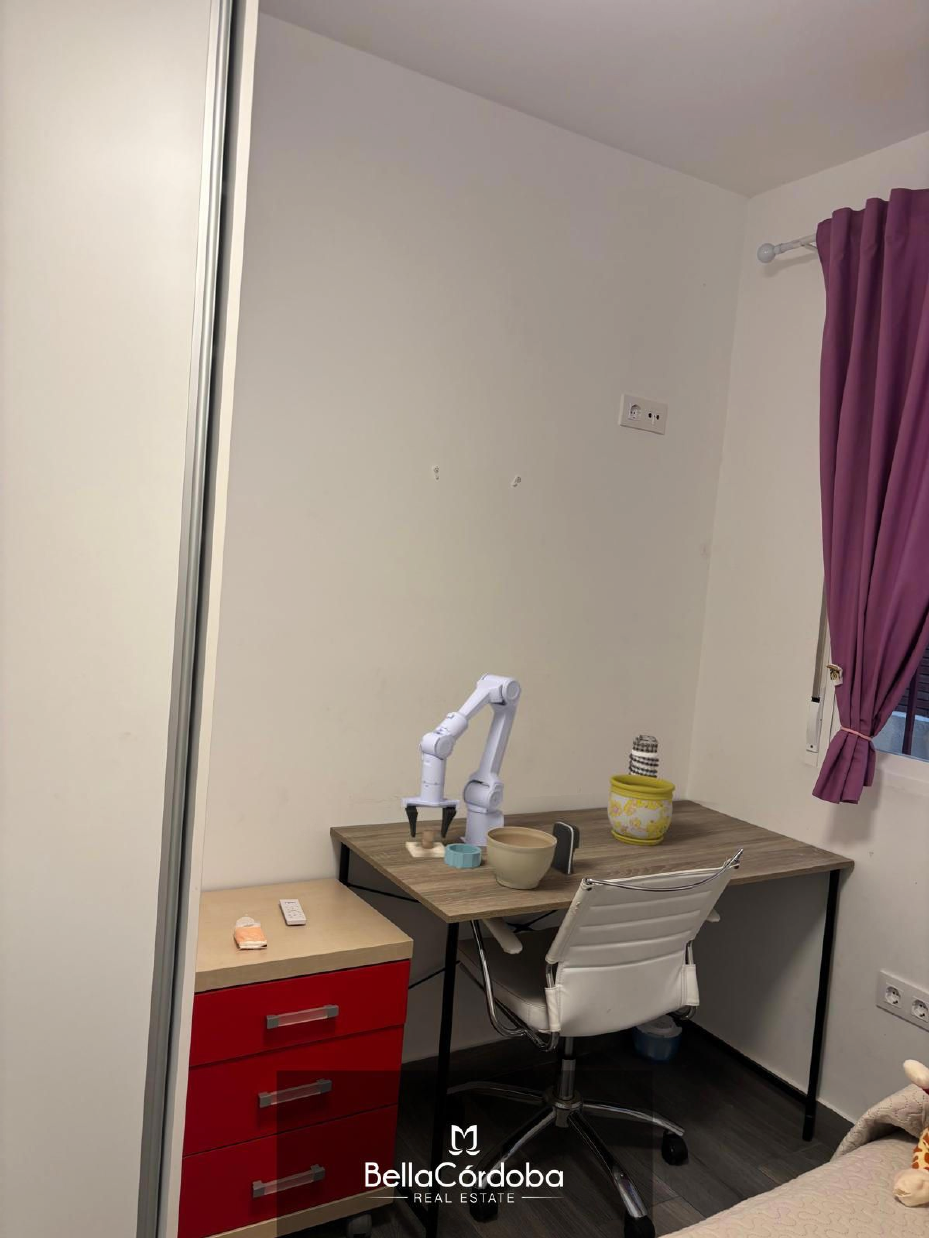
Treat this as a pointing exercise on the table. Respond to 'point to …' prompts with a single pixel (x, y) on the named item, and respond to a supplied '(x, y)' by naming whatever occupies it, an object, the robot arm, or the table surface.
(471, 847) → the bowl
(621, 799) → the flowerpot
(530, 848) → the planter bowl
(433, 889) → the table surface
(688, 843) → the table surface
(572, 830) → the battery charger
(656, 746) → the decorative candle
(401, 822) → the table surface
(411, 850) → the lid
